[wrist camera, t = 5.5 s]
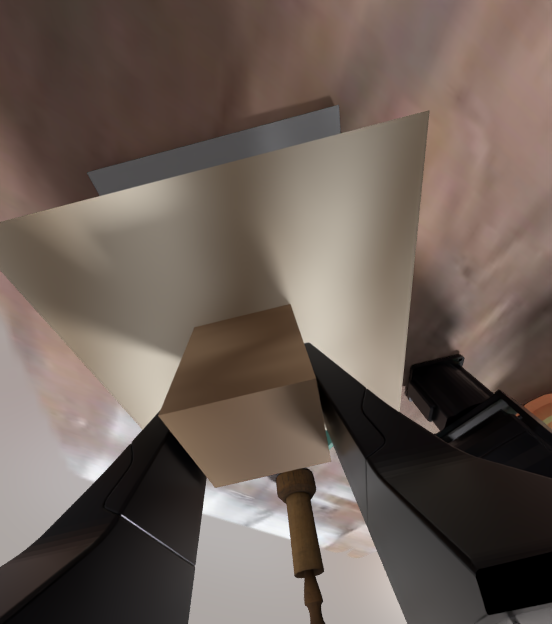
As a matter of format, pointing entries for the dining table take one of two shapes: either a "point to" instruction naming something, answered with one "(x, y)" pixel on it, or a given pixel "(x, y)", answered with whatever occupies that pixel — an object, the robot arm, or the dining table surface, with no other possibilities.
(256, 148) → the mat
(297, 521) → the brown wooden upright piece
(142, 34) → the dining table surface
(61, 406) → the dining table surface
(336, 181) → the lid
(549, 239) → the dining table surface
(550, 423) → the potted cactus
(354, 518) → the dining table surface
